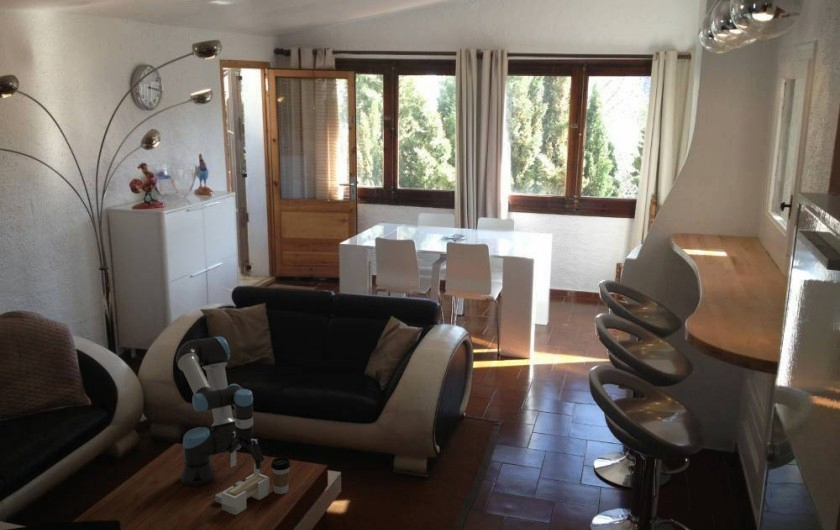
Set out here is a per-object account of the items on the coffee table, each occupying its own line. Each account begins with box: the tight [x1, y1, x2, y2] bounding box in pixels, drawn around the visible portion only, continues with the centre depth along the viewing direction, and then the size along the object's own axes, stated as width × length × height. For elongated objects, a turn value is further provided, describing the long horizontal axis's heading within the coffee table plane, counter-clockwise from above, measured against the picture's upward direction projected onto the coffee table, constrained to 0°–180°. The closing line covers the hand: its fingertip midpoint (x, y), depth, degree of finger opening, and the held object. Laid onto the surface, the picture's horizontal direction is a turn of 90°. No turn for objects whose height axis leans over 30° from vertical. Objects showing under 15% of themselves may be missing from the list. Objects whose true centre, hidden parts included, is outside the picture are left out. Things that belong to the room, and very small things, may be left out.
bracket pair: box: [221, 473, 271, 516], centre depth 325 cm, size 8×21×8 cm, turn 149°
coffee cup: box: [270, 456, 291, 495], centre depth 334 cm, size 8×8×15 cm
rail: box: [229, 476, 262, 500], centre depth 325 cm, size 4×16×5 cm, turn 149°
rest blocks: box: [214, 480, 244, 505], centre depth 330 cm, size 5×15×3 cm, turn 149°
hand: (245, 470), depth 323 cm, fingers open, 13 cm apart
